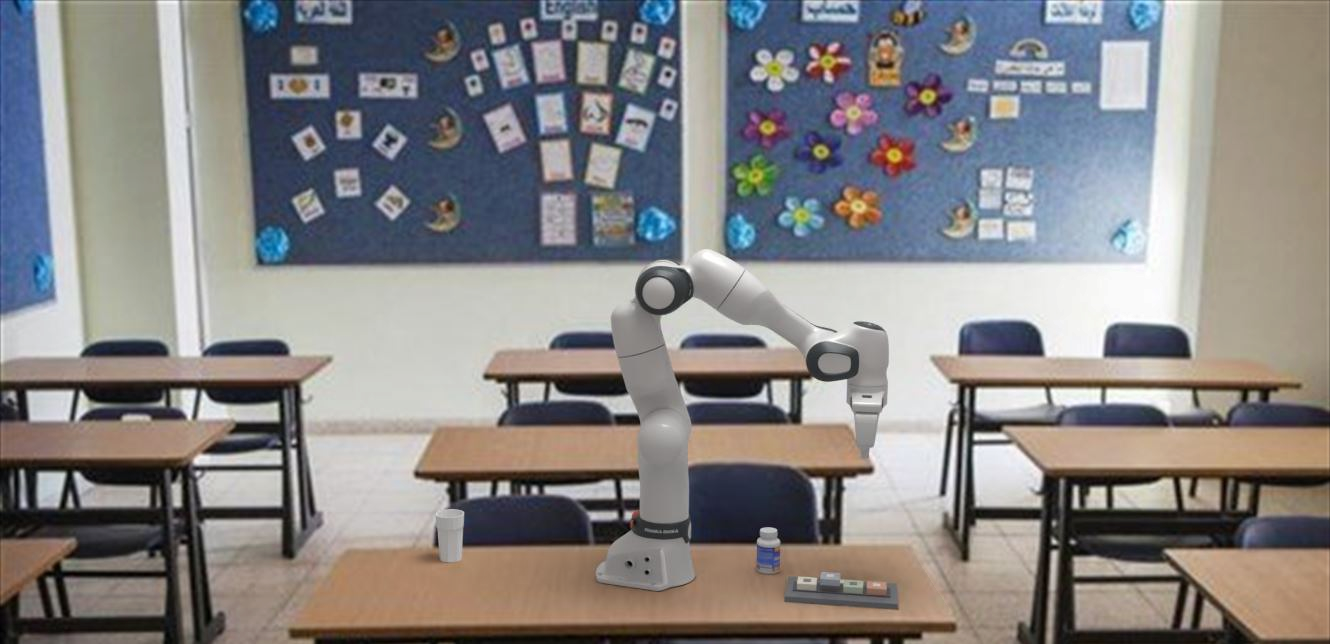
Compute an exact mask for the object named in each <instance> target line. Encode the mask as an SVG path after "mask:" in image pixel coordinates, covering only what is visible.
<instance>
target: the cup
mask: <svg viewBox="0 0 1330 644" xmlns="http://www.w3.org/2000/svg"><path fill="white" fill-rule="evenodd" d="M464 522H465V511H463V510H462V509H461V510H460V509H453V508H449V509H442V510H439V511H436V513H435V526H436V528H437V538H438V539H437V541H438V551H439V560H440V561H441V562H443V563H449V564H450V563H456V562H460V561H461V560H462V559H463V541H464V540H463V536H464V527H465V523H464Z"/></svg>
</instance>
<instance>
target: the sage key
mask: <svg viewBox="0 0 1330 644" xmlns="http://www.w3.org/2000/svg"><path fill="white" fill-rule="evenodd" d="M863 581H864V580H858V579H857V580H855V579H844V585H843V593H856V594H863Z"/></svg>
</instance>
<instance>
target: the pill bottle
mask: <svg viewBox="0 0 1330 644" xmlns="http://www.w3.org/2000/svg"><path fill="white" fill-rule="evenodd" d="M759 536H760V537H758V538H757V540H756V571H757V572H758V573H760V574H765V575H774V574H777V573H779V572H780V569H781V540H780V539H779V538H778V529H777V528H775V527H768V526H767V527H762V528H760V530H759Z"/></svg>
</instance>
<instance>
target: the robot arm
mask: <svg viewBox="0 0 1330 644" xmlns="http://www.w3.org/2000/svg"><path fill="white" fill-rule="evenodd" d="M637 277H638V278H637V280H636V283H635V288H634V293H635V294H634V295H635V296H634V297H633V298H632V299H629V300H627V301H624V302H622V303H620V304H619V305H617V306H616V307H615V308H614V309H613V310H612V313H611V314H610V325H611V336H612V340H613V341H612V342H613V345H614V350H615V353H616V357H617V360H618V364H619V367H620V372H621V375H622V378H623V381H624V385H625V389H626V391H627V393H628V394H629V396H630V398H631V401H632V403H633V406H634V408H635V410H636V413H637V415H638V418H639V422H640V427H639V429H638V430H637V431H638V432H637V437H636V439H637V441H636V443H637V444H636V445H637V446H636V447H637V464H638V475H639V476H638V477H639V510H638V509H637V510H634V512H633V513H632V514H631V518H630V526H629V527H630V530H629V531H628V532H627V533H625V534H624V535H622V536H620V537H619V538H617V539H616V540H615V541H614V542H613V543H612V544H611V545H610V547H609V548H608V551H607V553H606V559H605V560H604V561H602V562H600V564H599V565H598V566H597V568H596V570H595V577H594V578H595V580H596V581H597V582H598V583H601V584H608V585H615V586H621V587H628V588H634V589H642V590H646V591H647V590H648V591H649V590H650V591H654V592H655V591H656V592H660V591H664V590H666V589H669V588H675V587H679V586H682V585H685V584H688V583H690V582H692V581H693V580H694V579H695V578H696V572H695V570H694V569H695V568H694V565H693V561H692V560H693V559H692V555H691V546H690V545H691V544H690V540H691V538H692V521H691V520H692V519H691V515H690V514H689V511H690V509H689V508H690V480H689V477H690V476H689V464H688V463H689V462H688V461H689V458H688V457H689V453H688V452H689V451H688V449H689V440H690V436H691V431H692V422H691V420H692V419H691V417H690V413H689V411H688V408H687V406H686V402H685V399H684V397H683V393H682V392H681V388H680V386H679V383H678V381H677V379H676V376H675V372H674V370H673V369H674V368H673V366H672V362H671V359H670V354H669V352H668V349H667V348H668V347H667V345H666V340H665V337H664V335H663V331H662V325H661V318H662V316H666V315H670V314H672V313H674V312H675V311H677V310H678V309H679V308H681V307H682V306H683V305H684V304H686V303H687V302H689V301H690V300H692V298H695V299H698V300H700V301H702V302H703V303H706V304H707V305H708V306H710V307H711V308H712V309H714V310H715V311H716V312H718V313H719V314H720V315H723V316H724V317H725V318H727V319H729V320H731V321H733V322H736V323H738V324H740V325H742V326H750V325H751V326H760V327H764V328H767V329H768V330H770V331H772V332H773V333H775V334H776V335H778V336H780V337H781V339H784V340H785V341H787V342H788V343H790V344H792V346H794V347H795V348H797V350H799V352H800V353H801V355H802V356H803V358H804V360H805V365H806V370H807V371H808V373H809V374H810V375H811V376H812V377H813V378H814V379H816V380H817V381H820V382H824V383H829V382H838V381H843V380H846V404H847V405H849V407H850V409H851V411H852V412H853V419H854V428H855V429H854V430H855V440H856V446H857V447H858V448H860V458H861V459H863V460H868V459H869V458H870V449H872V448H874V446H875V444H876V439H877V431H878V423H879V418H880V413H882V411H883V408H885V407H886V406H887V405H888V390H889V388H888V387H889V385H888V384H889V380H888V377H887V370H888V367H889V363H890V362H889V361H890V347H889V336H888V334H887V331H886V330H885V329H884V328H883V327H882V326H881V325H879V324H876V323H873V322H869V321H861V320H860V321H859V320H858V321H854V322H852V323H851V324H850V325H848V326H847V327H845V328H844V329H841V330H839V331H837V330H835V329H832V328H829V327H825V326H819V325H815V324H813V323H811V322H810V321H808V320H807V319H806V318H804V317H803V316H801V315H800V314H798V313H796V312H795V311H793V310H792V309H791V308H789V307H788V306H786V305H785V304H784V303H782V302H781V301H780V300H779V299H778V298H777V297H776V296H775V294H774V293H773V292H772V291H771V290H770V289H769V288H768V287H767V286H766V285H765V283H763V282H762V281H761V280H760V279H759V278H757V276H755V275H754V274H753V273H752V272H750V271H749V270H748V269H746V268H745V267H743V266H742V265H741V264H739V263H738V262H736V261H734V260H732V259H731V258H729V257H727V256H725V255H724V254H721V253H719V252H717V251H715V250H712V249H710V248H704V249H700V250H698V251H696V252H695V253H693V254H692V255H691V256H690V257H689V258H688V260H687V261H686V262H685V263H683V264H680V263H678V262H677V261H675V260H673V259H670V258H658V259H655V260H652V261H651V262H649V263H648V264H647V265H646V266H645V267H643V269H641V272H640V273H639V275H638V276H637Z"/></svg>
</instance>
